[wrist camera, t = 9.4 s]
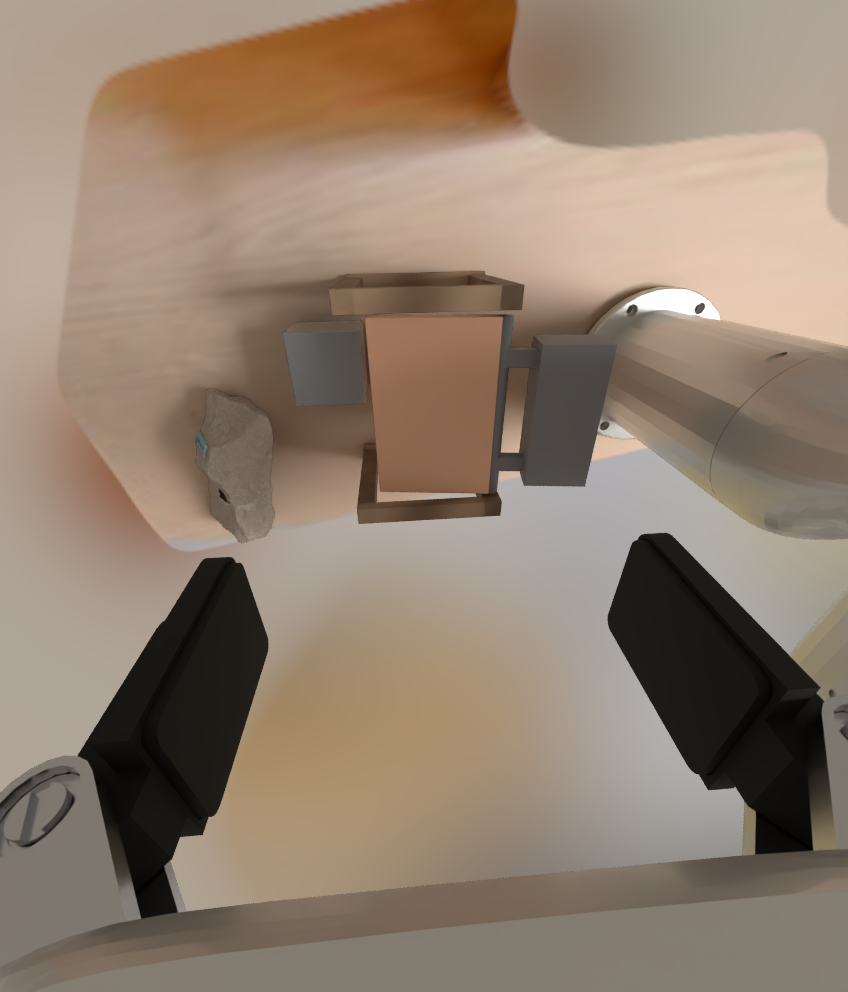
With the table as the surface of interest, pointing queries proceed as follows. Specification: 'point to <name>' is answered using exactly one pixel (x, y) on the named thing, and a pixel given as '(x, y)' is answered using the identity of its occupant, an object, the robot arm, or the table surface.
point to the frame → (421, 297)
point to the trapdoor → (480, 402)
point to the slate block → (327, 362)
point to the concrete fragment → (237, 464)
